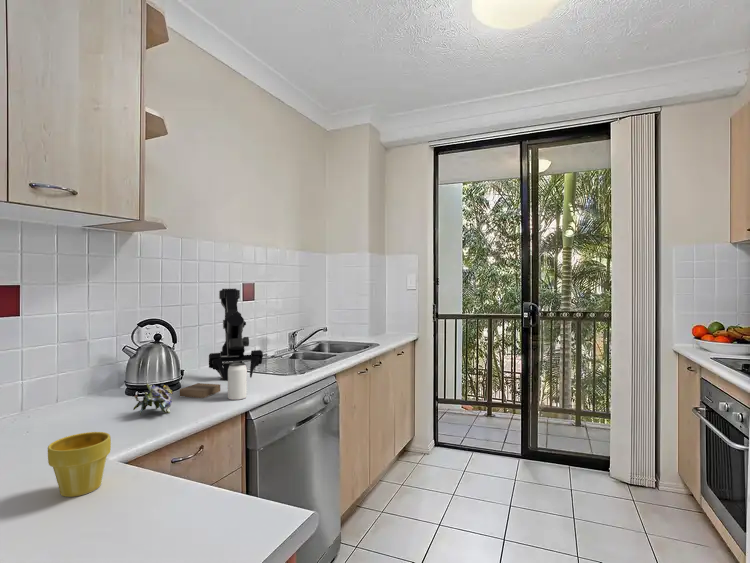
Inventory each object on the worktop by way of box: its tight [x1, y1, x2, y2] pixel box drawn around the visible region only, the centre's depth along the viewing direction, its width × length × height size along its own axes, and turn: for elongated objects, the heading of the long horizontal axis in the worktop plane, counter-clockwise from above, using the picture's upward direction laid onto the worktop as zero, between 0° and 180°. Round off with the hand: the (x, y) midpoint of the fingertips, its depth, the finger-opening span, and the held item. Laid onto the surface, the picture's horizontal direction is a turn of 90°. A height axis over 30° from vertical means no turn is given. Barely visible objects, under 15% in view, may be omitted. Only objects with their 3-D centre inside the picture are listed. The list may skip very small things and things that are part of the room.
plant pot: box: [47, 431, 112, 498], centre depth 86 cm, size 10×10×10 cm
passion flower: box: [133, 383, 174, 416], centre depth 136 cm, size 11×11×12 cm
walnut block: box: [179, 382, 221, 399], centre depth 160 cm, size 10×10×3 cm
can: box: [227, 362, 248, 401], centre depth 154 cm, size 6×6×12 cm
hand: (237, 378), depth 153 cm, fingers open, 9 cm apart
